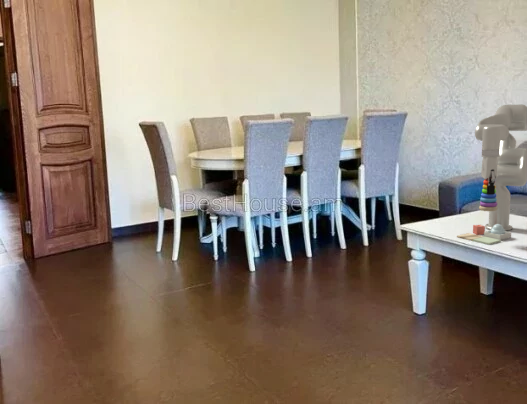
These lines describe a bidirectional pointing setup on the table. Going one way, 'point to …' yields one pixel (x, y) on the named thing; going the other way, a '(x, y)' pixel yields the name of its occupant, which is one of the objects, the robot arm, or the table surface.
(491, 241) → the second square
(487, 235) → the popper housing
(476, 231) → the die
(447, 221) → the table surface
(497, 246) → the table surface
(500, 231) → the dome
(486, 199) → the stacking toy
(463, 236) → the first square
